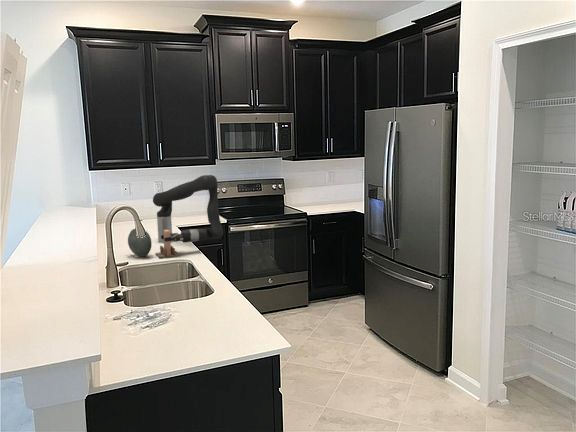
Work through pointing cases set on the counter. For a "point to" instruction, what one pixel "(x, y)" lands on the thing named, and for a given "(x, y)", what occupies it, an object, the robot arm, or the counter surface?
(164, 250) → the walnut rack
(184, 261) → the counter surface
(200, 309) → the counter surface
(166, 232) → the terracotta card
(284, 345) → the counter surface
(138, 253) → the dark green ellipsoid
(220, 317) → the counter surface
